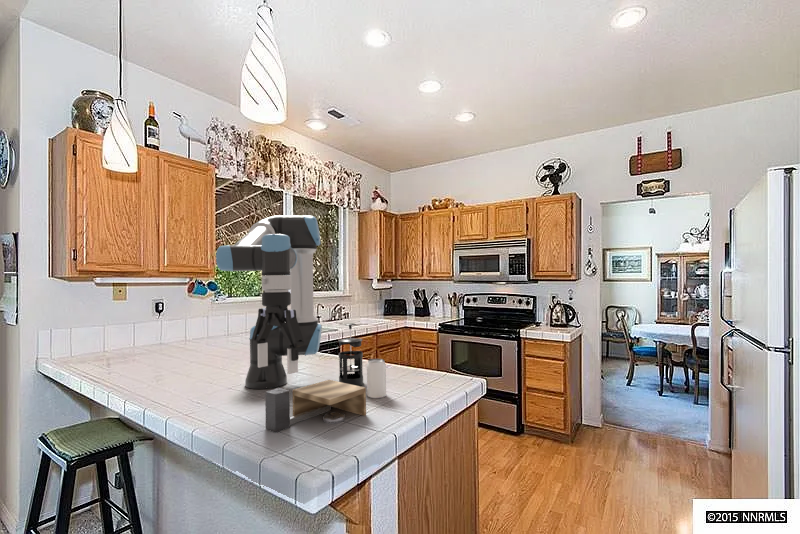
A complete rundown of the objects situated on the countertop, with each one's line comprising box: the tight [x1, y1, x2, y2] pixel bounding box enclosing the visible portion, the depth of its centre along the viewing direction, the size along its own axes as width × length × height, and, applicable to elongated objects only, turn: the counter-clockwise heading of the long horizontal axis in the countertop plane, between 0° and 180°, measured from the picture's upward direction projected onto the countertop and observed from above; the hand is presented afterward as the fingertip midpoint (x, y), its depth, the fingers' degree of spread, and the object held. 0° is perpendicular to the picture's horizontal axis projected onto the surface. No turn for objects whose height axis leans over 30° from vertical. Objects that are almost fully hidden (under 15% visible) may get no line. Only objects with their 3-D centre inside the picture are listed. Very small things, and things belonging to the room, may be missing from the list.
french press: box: [338, 322, 365, 387], centre depth 152 cm, size 12×9×23 cm
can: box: [366, 358, 387, 399], centre depth 137 cm, size 6×6×12 cm
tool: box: [264, 387, 332, 434], centre depth 116 cm, size 4×20×10 cm, turn 142°
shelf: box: [291, 379, 367, 417], centre depth 118 cm, size 16×14×8 cm
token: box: [322, 411, 346, 424], centre depth 115 cm, size 6×6×1 cm
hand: (277, 369), depth 109 cm, fingers open, 13 cm apart
